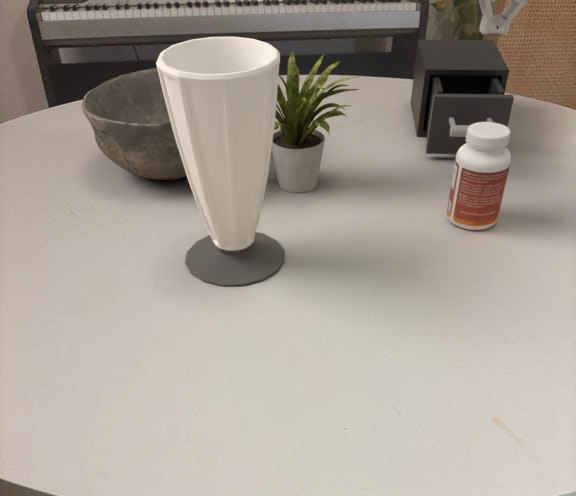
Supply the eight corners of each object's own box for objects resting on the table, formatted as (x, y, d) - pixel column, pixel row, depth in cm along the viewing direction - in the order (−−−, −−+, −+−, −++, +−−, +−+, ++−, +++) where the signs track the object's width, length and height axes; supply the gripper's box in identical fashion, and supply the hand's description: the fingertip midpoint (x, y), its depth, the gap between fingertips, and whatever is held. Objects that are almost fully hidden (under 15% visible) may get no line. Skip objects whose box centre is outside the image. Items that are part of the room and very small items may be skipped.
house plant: (313, 225, 78) (316, 86, 67) (222, 197, 84) (210, 64, 72) (367, 179, 87) (377, 49, 75) (281, 156, 92) (279, 31, 81)
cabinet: (494, 137, 96) (509, 70, 89) (416, 136, 97) (425, 69, 90) (481, 103, 106) (493, 40, 99) (410, 102, 106) (417, 39, 100)
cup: (304, 249, 74) (305, 47, 59) (245, 299, 68) (230, 85, 53) (226, 222, 79) (208, 29, 64) (163, 266, 72) (128, 61, 57)
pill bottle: (507, 224, 78) (530, 134, 70) (466, 236, 76) (485, 145, 68) (475, 202, 82) (493, 114, 74) (435, 213, 80) (450, 124, 72)
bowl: (128, 131, 99) (115, 62, 92) (258, 139, 96) (255, 69, 90) (73, 195, 85) (52, 118, 78) (224, 206, 82) (217, 129, 75)
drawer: (506, 169, 86) (520, 111, 81) (428, 168, 87) (437, 109, 82) (487, 119, 99) (498, 65, 93) (419, 118, 99) (426, 65, 94)
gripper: (447, -117, 62) (416, 38, 72) (636, -102, 65) (582, 45, 75) (428, -126, 67) (401, 21, 76) (606, -111, 70) (559, 28, 79)
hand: (492, 33), depth 76 cm, fingers closed
